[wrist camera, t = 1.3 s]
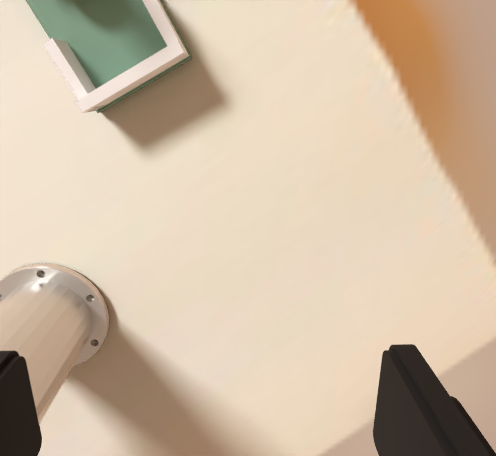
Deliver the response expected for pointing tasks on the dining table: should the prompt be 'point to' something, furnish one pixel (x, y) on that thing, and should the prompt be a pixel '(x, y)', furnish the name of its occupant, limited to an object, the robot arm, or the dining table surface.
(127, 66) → the pitch
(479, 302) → the dining table surface
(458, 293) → the dining table surface
